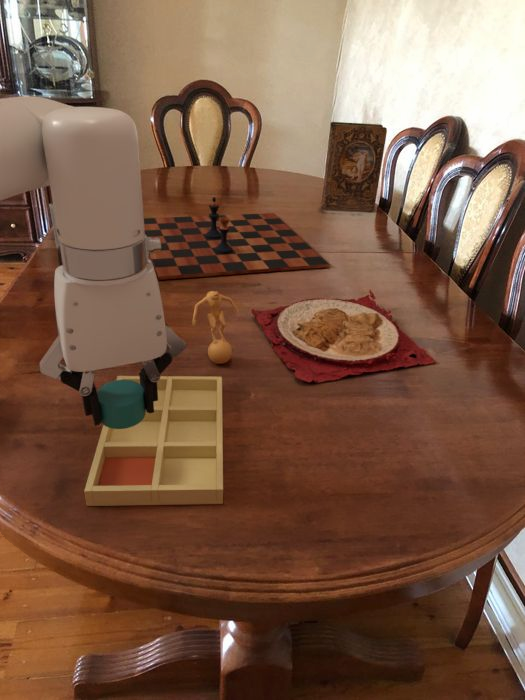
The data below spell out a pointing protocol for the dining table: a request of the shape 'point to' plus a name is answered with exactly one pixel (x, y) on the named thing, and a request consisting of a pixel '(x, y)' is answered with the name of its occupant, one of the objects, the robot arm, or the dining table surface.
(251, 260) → the chessboard
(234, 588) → the dining table surface
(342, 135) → the book
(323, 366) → the plate with food
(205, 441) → the grid
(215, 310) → the figurine
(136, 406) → the cylinder
